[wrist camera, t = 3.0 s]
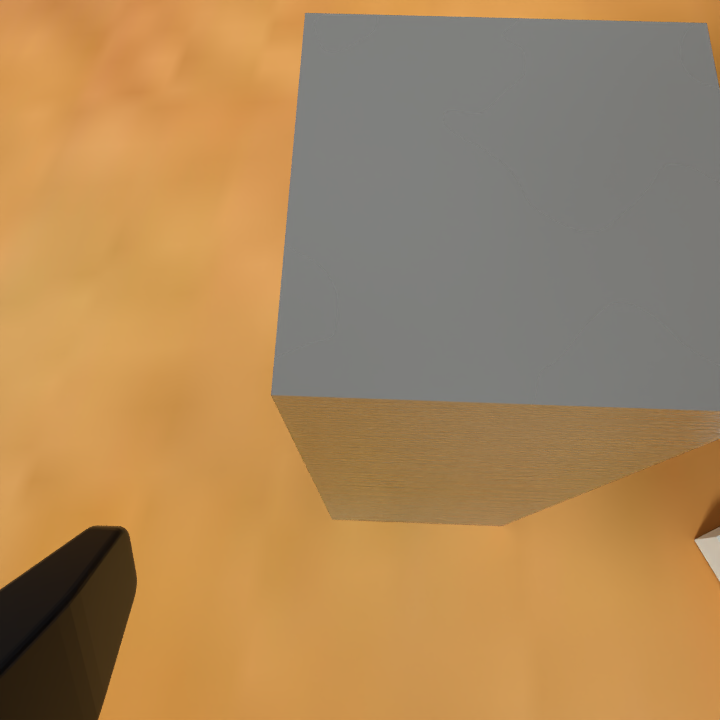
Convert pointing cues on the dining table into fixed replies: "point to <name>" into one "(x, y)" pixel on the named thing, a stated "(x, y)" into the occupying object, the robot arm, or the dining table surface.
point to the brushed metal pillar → (498, 261)
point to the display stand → (711, 549)
